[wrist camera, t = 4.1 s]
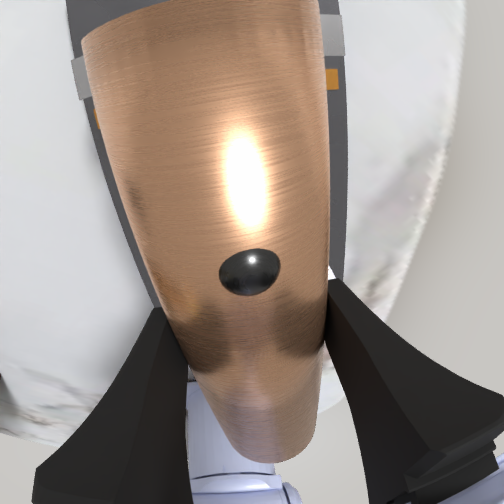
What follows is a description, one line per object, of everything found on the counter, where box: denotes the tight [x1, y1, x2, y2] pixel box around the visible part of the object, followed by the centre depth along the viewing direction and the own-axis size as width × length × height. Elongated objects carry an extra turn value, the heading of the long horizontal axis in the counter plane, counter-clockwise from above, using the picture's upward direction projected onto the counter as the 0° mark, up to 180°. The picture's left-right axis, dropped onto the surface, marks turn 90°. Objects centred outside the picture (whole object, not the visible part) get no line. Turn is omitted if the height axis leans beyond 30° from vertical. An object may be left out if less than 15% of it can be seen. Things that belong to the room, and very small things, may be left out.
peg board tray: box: [66, 0, 348, 308], centre depth 14 cm, size 22×12×5 cm, turn 7°
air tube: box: [81, 0, 330, 464], centre depth 10 cm, size 18×5×5 cm, turn 7°
